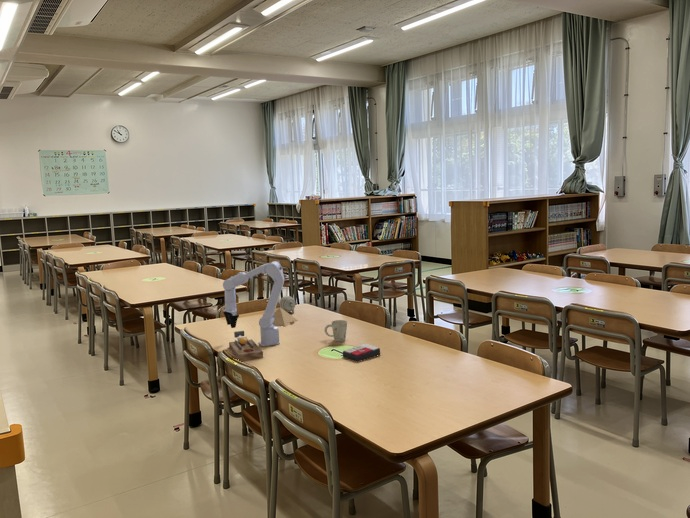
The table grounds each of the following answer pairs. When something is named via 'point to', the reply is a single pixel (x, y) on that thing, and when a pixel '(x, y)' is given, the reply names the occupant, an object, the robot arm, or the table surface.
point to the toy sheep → (287, 304)
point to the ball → (243, 341)
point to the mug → (338, 330)
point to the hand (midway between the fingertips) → (231, 326)
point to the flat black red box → (361, 352)
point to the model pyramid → (283, 318)
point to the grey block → (239, 335)
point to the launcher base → (246, 350)
